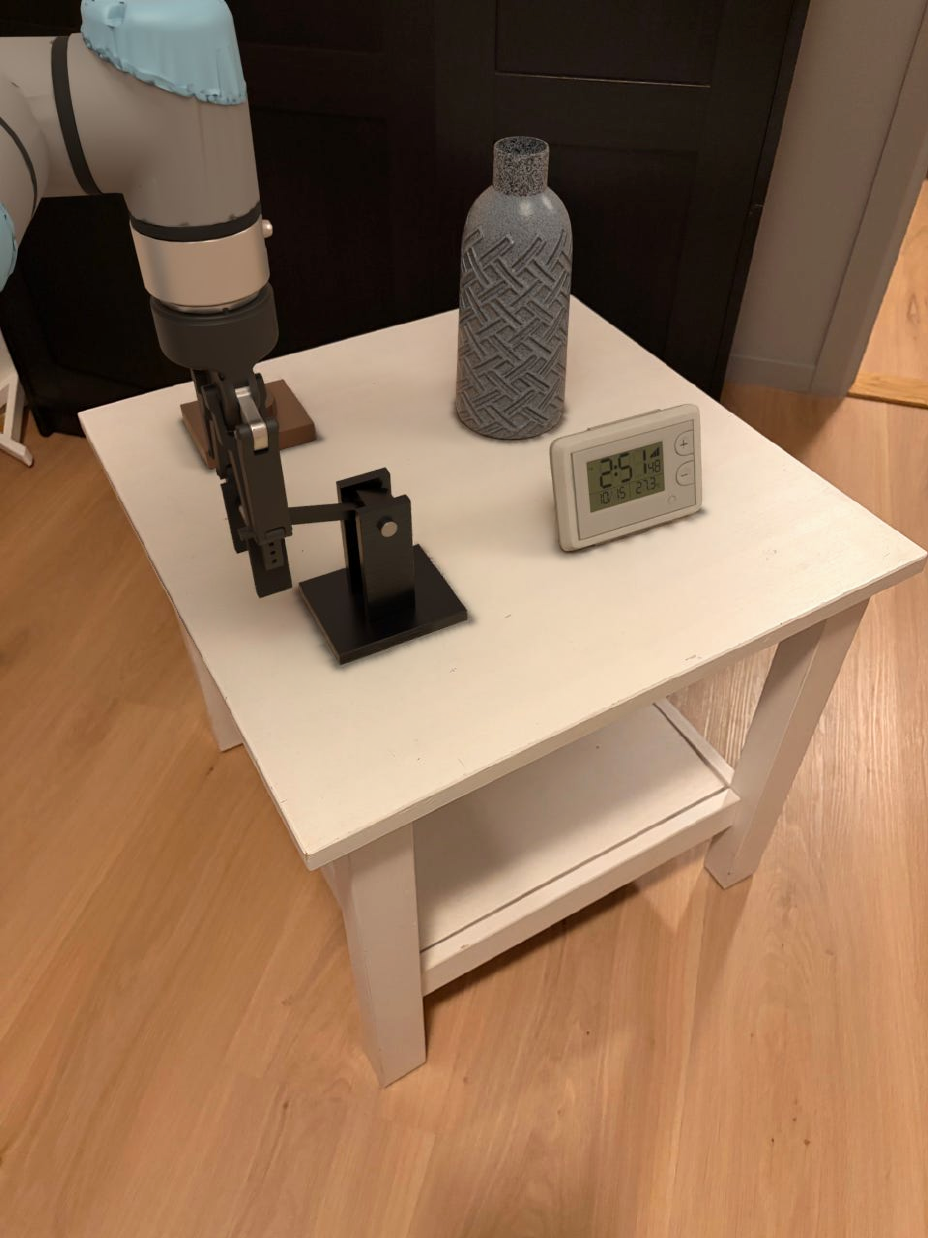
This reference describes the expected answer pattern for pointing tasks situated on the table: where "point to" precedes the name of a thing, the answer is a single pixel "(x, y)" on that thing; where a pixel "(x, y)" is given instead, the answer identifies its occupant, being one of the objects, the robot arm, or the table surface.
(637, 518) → the digital clock
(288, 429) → the button block
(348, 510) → the lever
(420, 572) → the bracket
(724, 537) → the table surface
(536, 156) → the vase
